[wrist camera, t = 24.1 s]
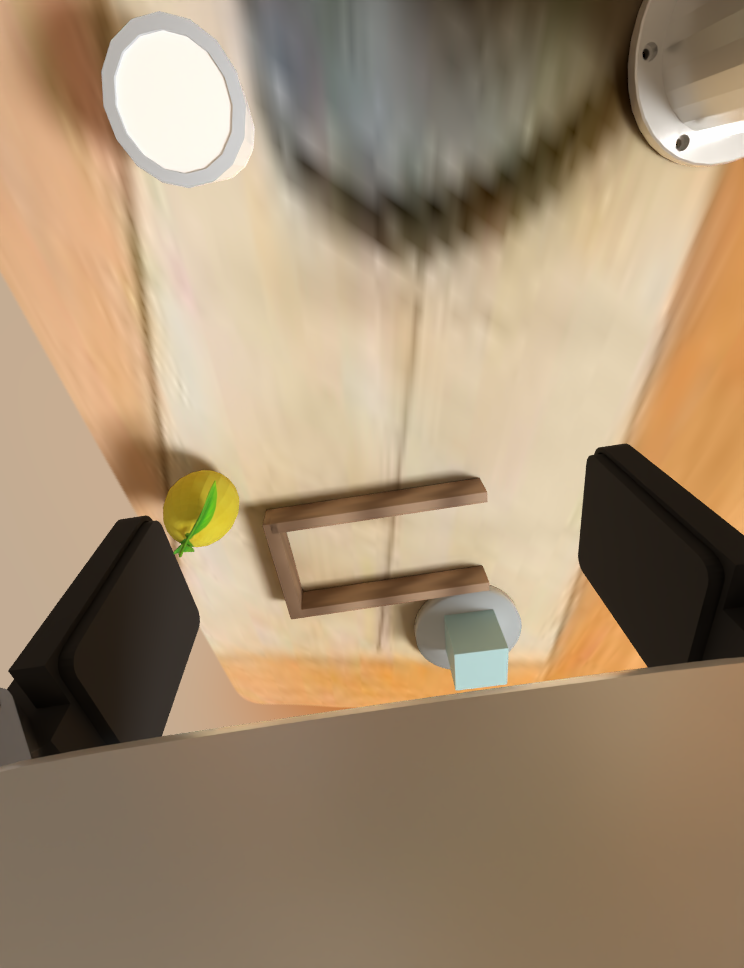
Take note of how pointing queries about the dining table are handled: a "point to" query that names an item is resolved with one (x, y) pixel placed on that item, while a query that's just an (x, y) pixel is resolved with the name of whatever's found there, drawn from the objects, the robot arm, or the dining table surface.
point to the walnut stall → (367, 509)
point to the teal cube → (476, 649)
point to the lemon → (200, 509)
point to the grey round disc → (433, 611)
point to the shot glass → (176, 101)
